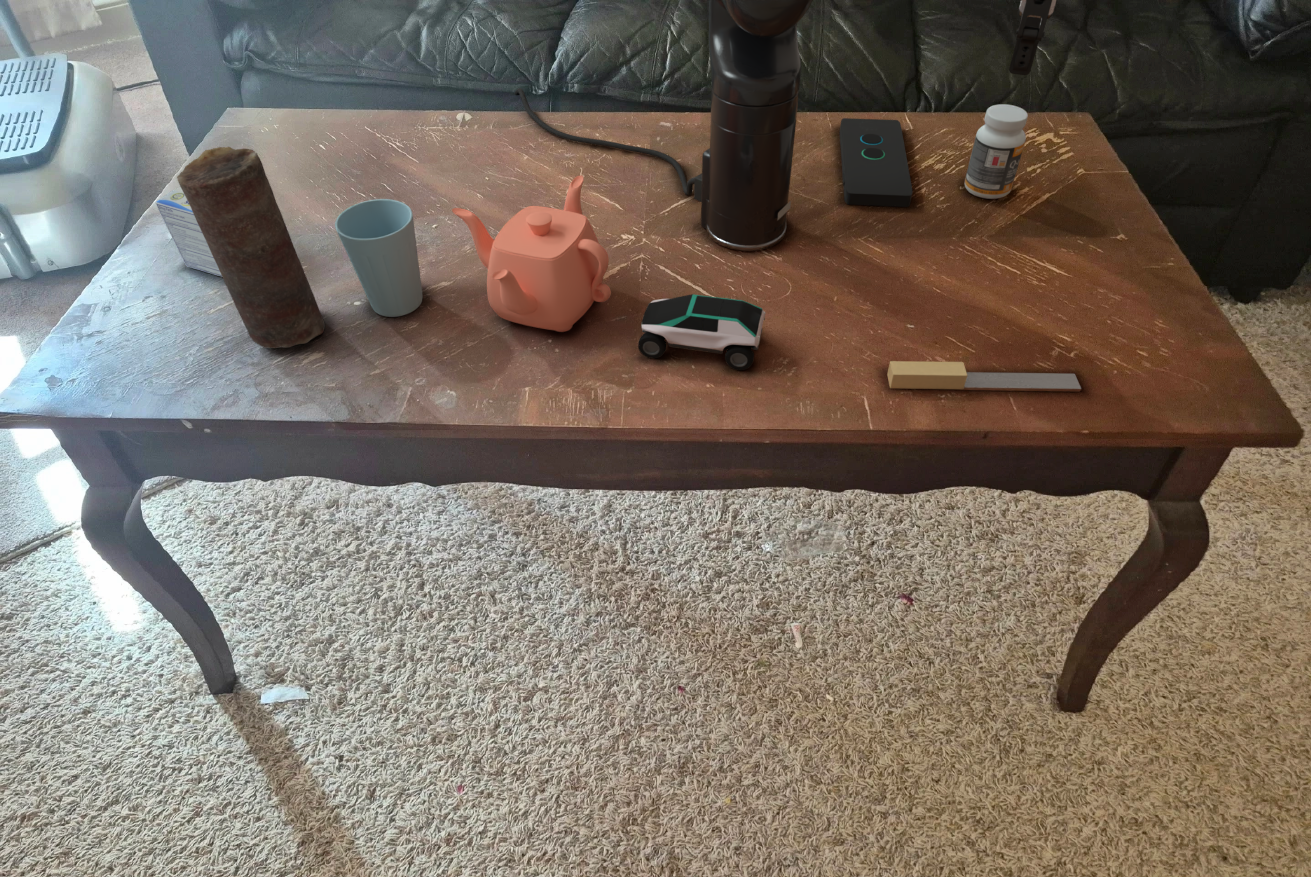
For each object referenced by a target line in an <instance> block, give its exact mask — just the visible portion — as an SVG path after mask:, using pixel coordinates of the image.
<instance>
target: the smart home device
mask: <svg viewBox="0 0 1311 877" xmlns="http://www.w3.org/2000/svg"><path fill="white" fill-rule="evenodd" d="M839 144H840V157H841V172H842V173H841V174H842V176H841V177H842V186H843V187H842V188H843V200H844V202H845V204H847V205H850V206H875V207H898V208H900V207H901V208H909V207H910V206H911V201H912V197H913V187H912V181H911V174H910V169H909V163H908V158H907V153H906V146H905V142H904V137H903V130H902V125H901V121H899V120H897V119H881V118H880V119H877V118H849V117H847V118H846V117H844V118H841V120H840V125H839Z"/></svg>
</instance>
